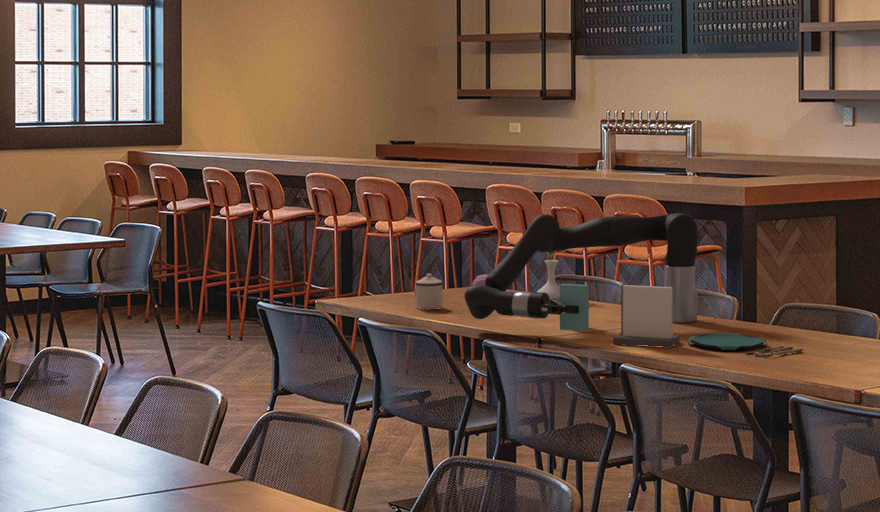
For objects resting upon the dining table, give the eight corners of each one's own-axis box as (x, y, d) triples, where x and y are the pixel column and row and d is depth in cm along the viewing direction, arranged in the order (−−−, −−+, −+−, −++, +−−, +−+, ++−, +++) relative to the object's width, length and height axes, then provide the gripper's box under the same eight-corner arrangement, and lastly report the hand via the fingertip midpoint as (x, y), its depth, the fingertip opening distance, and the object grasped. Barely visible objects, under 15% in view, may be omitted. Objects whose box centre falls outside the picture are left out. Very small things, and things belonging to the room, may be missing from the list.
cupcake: (482, 300, 433) (482, 272, 432) (503, 302, 428) (503, 273, 427) (467, 303, 426) (467, 274, 425) (489, 305, 421) (488, 276, 420)
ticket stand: (679, 342, 347) (679, 285, 345) (669, 348, 338) (670, 290, 336) (624, 338, 353) (624, 283, 352) (613, 344, 345) (613, 287, 343)
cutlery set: (724, 337, 355) (724, 329, 355) (809, 354, 330) (809, 345, 330) (674, 345, 344) (674, 337, 344) (758, 364, 319) (758, 355, 319)
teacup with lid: (448, 308, 416) (448, 273, 415) (427, 311, 410) (427, 276, 409) (425, 304, 425) (425, 270, 424) (405, 307, 419) (404, 273, 418)
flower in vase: (569, 302, 427) (569, 229, 424) (536, 302, 427) (535, 230, 425) (566, 297, 440) (565, 226, 437) (533, 297, 440) (533, 227, 438)
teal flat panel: (588, 330, 354) (588, 285, 352) (586, 331, 352) (586, 285, 350) (562, 328, 357) (562, 283, 356) (559, 329, 355) (559, 284, 354)
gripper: (521, 295, 353) (575, 297, 346) (539, 288, 366) (592, 291, 359) (521, 321, 354) (575, 324, 347) (539, 314, 366) (592, 317, 359)
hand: (583, 307), depth 353 cm, fingers open, 8 cm apart
